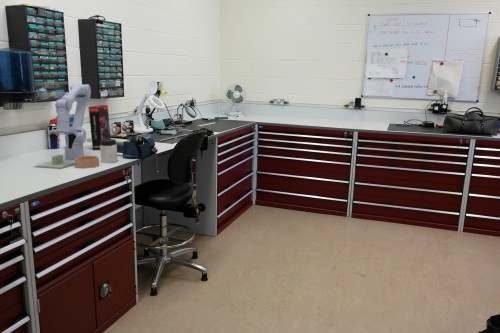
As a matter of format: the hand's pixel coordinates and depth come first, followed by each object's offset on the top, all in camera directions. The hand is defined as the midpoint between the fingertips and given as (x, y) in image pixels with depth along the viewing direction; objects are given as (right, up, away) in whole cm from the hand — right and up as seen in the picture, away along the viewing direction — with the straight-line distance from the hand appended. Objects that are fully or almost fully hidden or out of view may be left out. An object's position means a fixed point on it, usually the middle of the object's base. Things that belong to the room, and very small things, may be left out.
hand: (62, 148), depth 214 cm
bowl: (+12, -9, +2) cm, 15 cm away
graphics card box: (+1, +3, +55) cm, 55 cm away
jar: (+19, -7, +14) cm, 25 cm away
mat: (-4, -9, +4) cm, 10 cm away
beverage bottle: (-17, +2, +53) cm, 56 cm away
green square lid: (-4, -8, +4) cm, 10 cm away
